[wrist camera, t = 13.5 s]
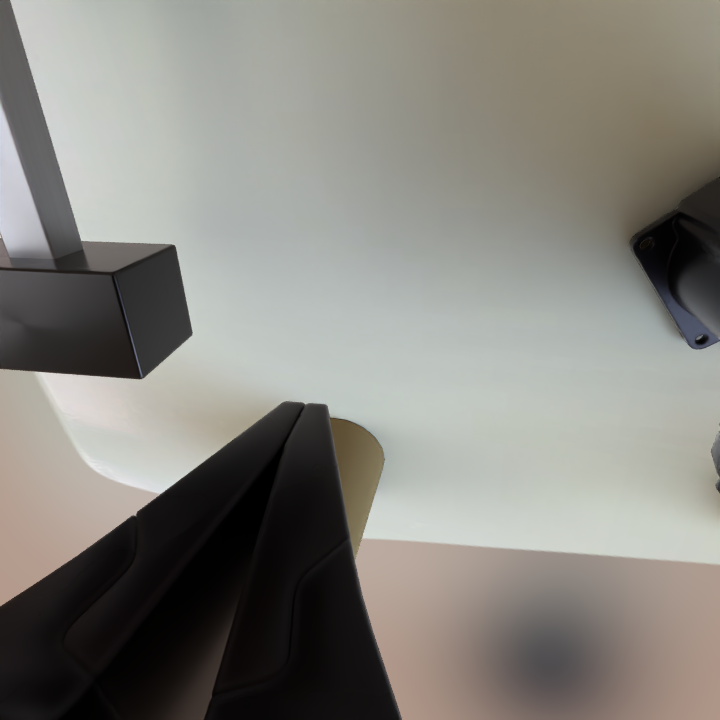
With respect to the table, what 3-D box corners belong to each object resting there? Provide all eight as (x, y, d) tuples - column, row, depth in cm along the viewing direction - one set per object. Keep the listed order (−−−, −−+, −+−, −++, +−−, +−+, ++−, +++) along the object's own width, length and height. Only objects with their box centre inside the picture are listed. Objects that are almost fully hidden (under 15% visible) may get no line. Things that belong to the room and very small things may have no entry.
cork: (368, 499, 29) (340, 694, 20) (281, 473, 29) (210, 657, 19) (397, 436, 26) (379, 634, 16) (299, 405, 25) (224, 589, 16)
